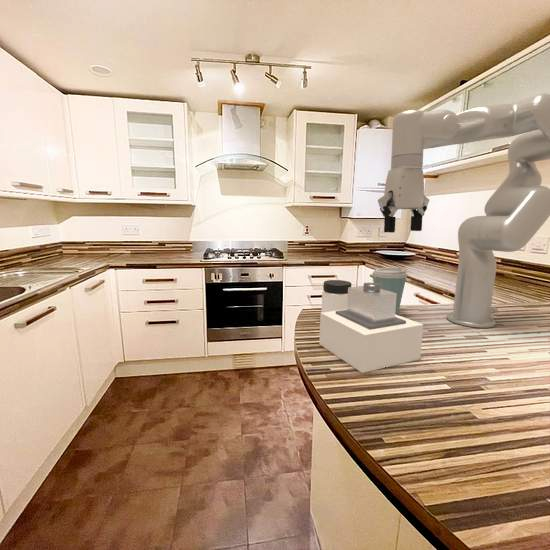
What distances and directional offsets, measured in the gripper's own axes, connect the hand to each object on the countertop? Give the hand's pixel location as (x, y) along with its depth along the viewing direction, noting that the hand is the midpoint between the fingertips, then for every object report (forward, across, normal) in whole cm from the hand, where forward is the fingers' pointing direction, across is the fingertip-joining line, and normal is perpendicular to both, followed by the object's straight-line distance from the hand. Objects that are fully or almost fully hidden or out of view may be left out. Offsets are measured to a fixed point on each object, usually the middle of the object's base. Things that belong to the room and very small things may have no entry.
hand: (402, 231), depth 83 cm
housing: (+18, +18, +8) cm, 27 cm away
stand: (+27, +19, +8) cm, 34 cm away
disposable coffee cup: (+28, -8, -12) cm, 31 cm away
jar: (+27, +12, -12) cm, 32 cm away
